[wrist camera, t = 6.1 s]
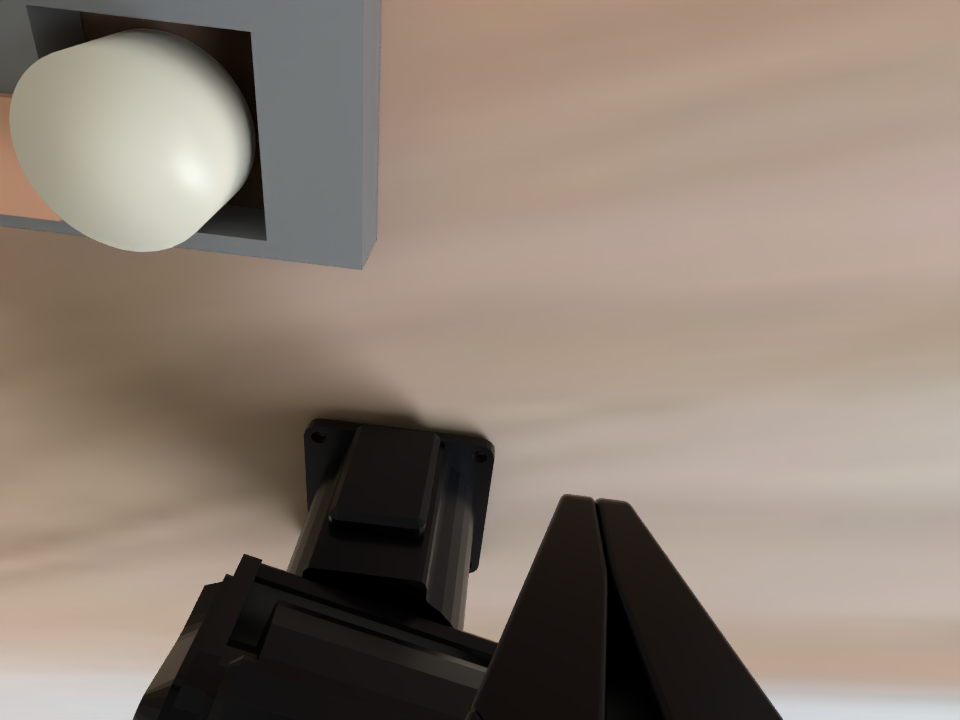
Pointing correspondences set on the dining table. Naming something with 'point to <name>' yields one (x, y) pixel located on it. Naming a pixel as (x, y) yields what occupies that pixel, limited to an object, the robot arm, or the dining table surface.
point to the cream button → (133, 137)
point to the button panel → (280, 113)
